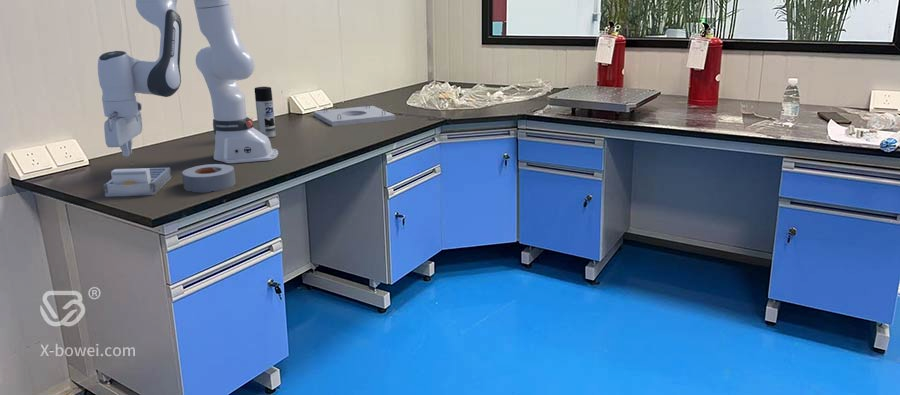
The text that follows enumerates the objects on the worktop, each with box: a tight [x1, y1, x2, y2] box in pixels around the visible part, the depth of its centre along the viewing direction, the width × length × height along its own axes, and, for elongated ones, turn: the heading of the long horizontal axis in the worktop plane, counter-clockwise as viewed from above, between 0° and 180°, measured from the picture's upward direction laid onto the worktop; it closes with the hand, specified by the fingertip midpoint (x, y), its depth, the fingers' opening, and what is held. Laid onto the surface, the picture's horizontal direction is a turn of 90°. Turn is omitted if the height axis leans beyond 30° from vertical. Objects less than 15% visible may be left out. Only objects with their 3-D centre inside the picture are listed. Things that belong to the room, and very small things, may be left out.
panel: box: [110, 167, 151, 184], centre depth 199 cm, size 10×3×6 cm, turn 96°
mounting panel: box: [313, 103, 396, 127], centre depth 307 cm, size 27×5×30 cm
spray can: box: [254, 86, 277, 139], centre depth 268 cm, size 7×7×20 cm
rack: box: [102, 167, 173, 198], centre depth 205 cm, size 14×18×4 cm
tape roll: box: [181, 163, 236, 193], centre depth 207 cm, size 15×15×5 cm
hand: (127, 155), depth 197 cm, fingers closed
